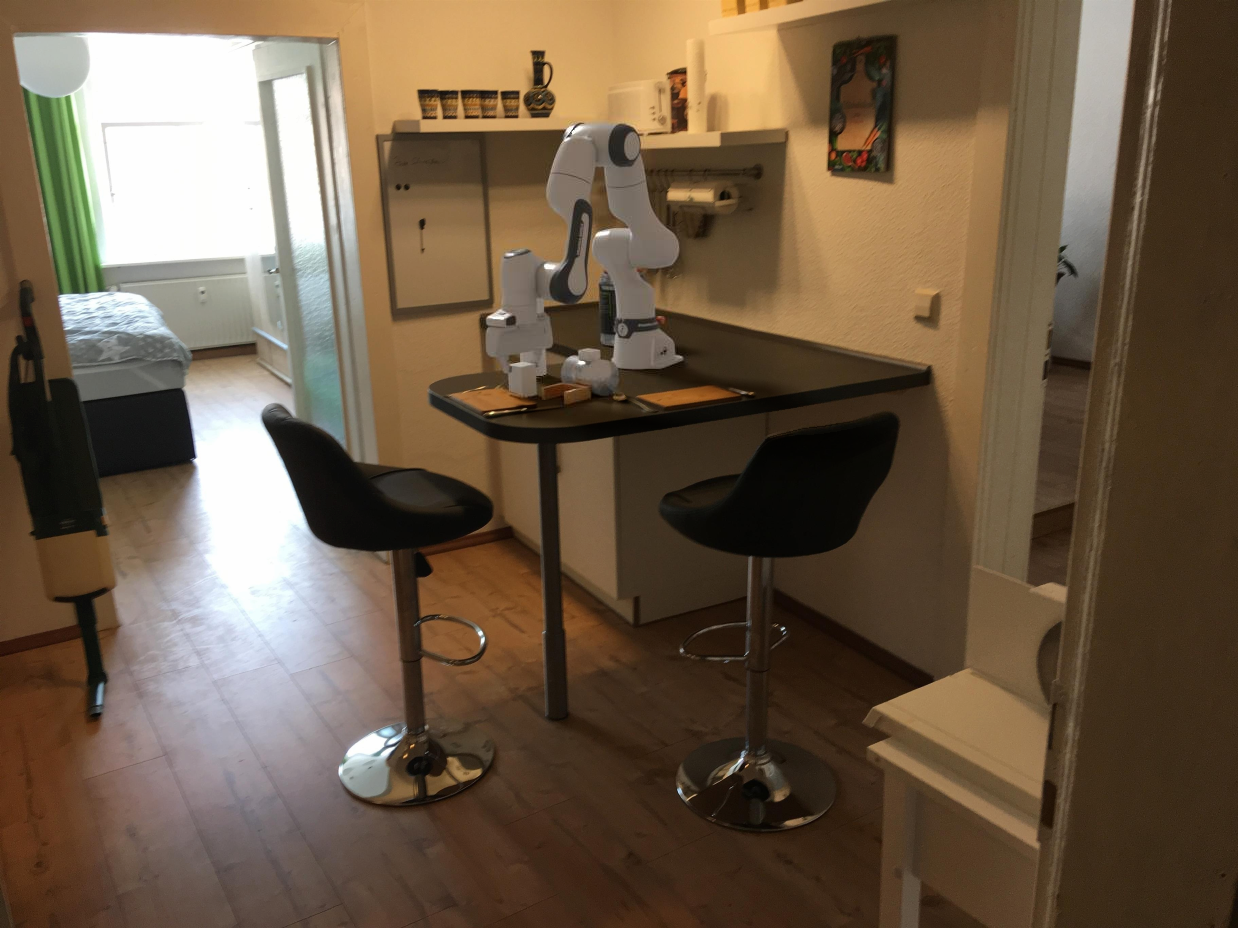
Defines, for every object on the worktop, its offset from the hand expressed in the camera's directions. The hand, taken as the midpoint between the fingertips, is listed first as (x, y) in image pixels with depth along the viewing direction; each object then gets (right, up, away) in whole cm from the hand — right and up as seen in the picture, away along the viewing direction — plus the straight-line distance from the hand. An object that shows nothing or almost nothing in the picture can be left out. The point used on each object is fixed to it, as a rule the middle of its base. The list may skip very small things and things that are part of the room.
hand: (521, 370), depth 255 cm
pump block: (0, -6, +2) cm, 7 cm away
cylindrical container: (+1, +1, +26) cm, 26 cm away
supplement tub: (+26, +15, +72) cm, 78 cm away
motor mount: (+15, -6, +1) cm, 16 cm away
